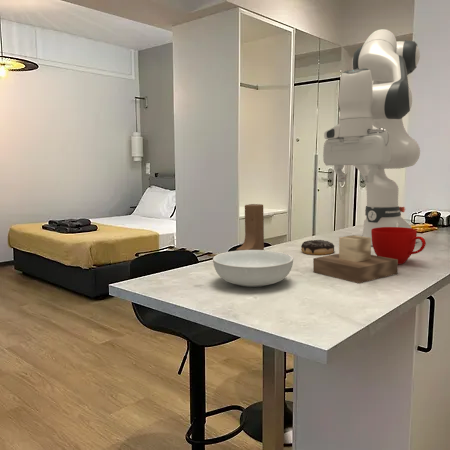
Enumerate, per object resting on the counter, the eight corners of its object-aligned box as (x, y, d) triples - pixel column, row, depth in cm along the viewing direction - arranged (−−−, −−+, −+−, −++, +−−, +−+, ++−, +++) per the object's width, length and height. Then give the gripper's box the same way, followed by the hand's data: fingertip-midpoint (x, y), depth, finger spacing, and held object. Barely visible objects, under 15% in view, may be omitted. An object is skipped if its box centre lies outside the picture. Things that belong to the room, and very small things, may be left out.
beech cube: (353, 255, 129) (353, 235, 128) (370, 259, 124) (371, 237, 123) (339, 258, 126) (339, 237, 125) (356, 262, 121) (356, 240, 120)
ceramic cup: (410, 271, 126) (411, 235, 125) (361, 261, 140) (362, 229, 139) (437, 264, 133) (438, 231, 132) (388, 256, 147) (389, 225, 146)
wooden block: (247, 264, 140) (246, 206, 138) (236, 262, 143) (235, 206, 141) (264, 259, 147) (263, 204, 144) (253, 257, 150) (252, 203, 147)
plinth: (351, 264, 136) (351, 251, 136) (397, 273, 123) (397, 259, 123) (313, 272, 127) (313, 258, 127) (358, 283, 114) (359, 268, 114)
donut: (294, 253, 157) (294, 241, 157) (316, 248, 165) (316, 237, 164) (320, 257, 149) (320, 245, 148) (341, 252, 156) (341, 241, 156)
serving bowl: (207, 293, 109) (206, 265, 108) (219, 273, 130) (219, 249, 129) (293, 294, 106) (293, 266, 105) (292, 273, 127) (292, 249, 126)
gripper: (396, 127, 114) (395, 182, 116) (334, 133, 131) (334, 180, 133) (380, 127, 111) (380, 183, 113) (319, 133, 128) (319, 182, 130)
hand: (355, 182), depth 123 cm, fingers open, 8 cm apart
